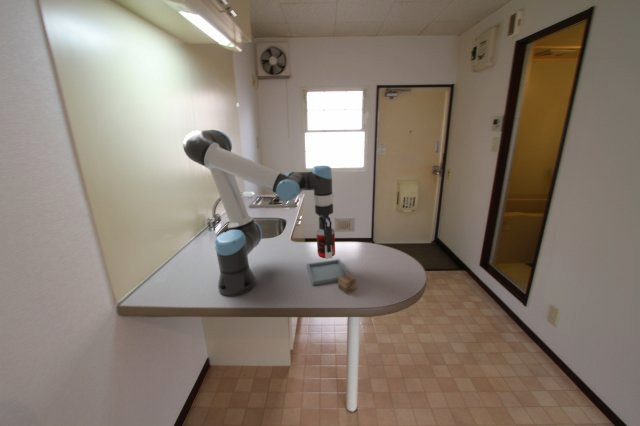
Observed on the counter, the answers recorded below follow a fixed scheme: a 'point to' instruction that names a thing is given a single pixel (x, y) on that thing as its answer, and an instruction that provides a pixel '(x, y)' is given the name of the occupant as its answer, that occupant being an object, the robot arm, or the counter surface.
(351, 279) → the walnut block
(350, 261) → the counter surface
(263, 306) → the counter surface
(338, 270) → the tray
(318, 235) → the canned food
